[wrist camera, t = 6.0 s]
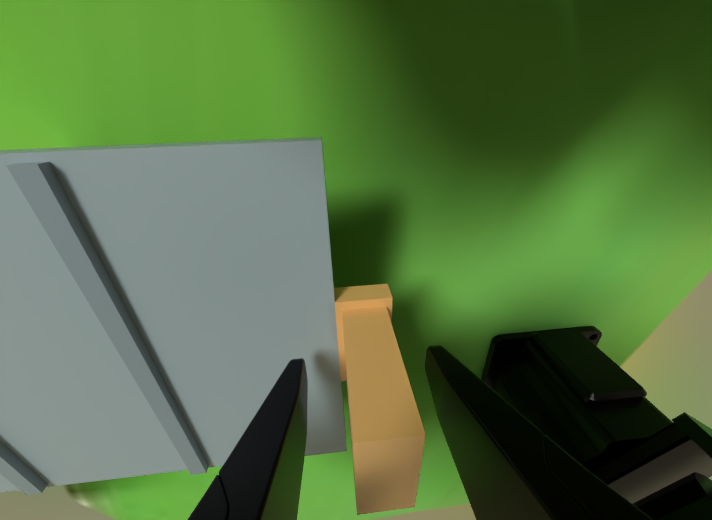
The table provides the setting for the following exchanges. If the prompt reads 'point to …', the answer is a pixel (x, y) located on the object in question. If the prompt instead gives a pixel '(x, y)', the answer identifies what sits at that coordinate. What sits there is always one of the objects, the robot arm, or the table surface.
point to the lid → (185, 316)
